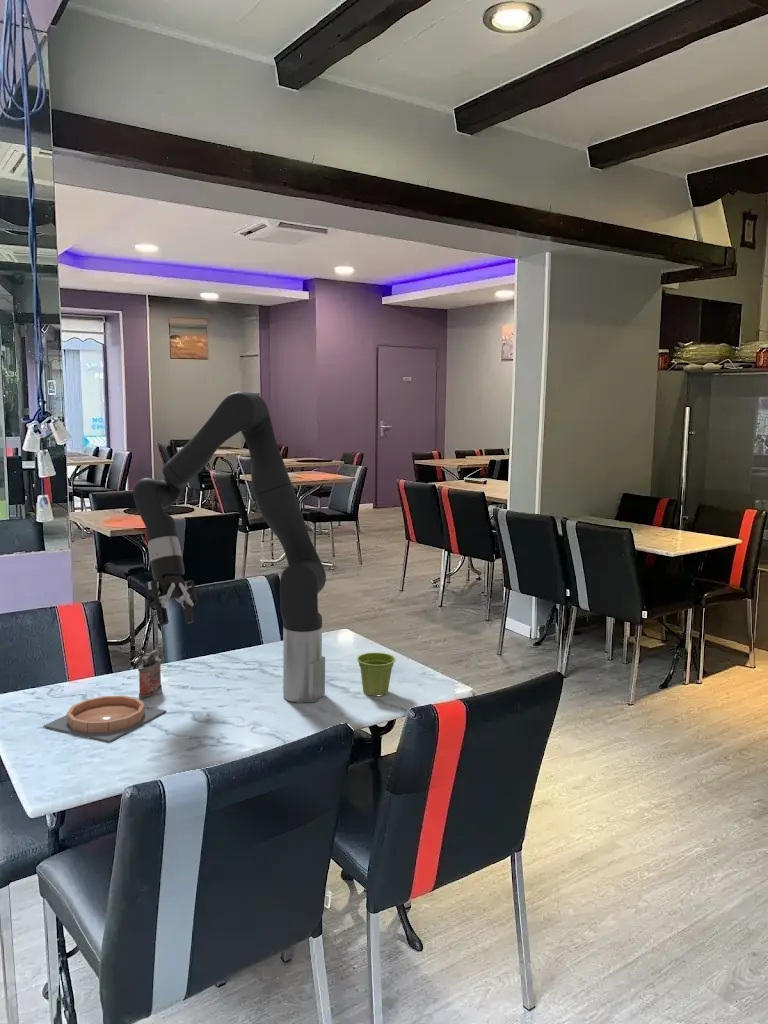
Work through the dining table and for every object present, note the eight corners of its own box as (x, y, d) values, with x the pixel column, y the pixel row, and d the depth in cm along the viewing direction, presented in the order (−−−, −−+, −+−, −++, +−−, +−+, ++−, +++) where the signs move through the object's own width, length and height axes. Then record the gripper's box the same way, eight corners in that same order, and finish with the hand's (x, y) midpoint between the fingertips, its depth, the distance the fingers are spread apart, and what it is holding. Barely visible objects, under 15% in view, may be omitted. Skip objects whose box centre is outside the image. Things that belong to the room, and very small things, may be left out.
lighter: (148, 699, 181) (147, 658, 180) (135, 698, 182) (134, 657, 180) (164, 688, 189) (164, 648, 187) (152, 686, 189) (151, 647, 188)
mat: (166, 712, 174) (166, 710, 174) (109, 742, 157) (109, 740, 157) (104, 699, 180) (103, 697, 180) (43, 727, 164) (43, 725, 164)
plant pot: (402, 694, 187) (403, 660, 186) (370, 702, 182) (370, 666, 181) (380, 683, 195) (381, 650, 194) (349, 690, 190) (349, 656, 189)
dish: (158, 711, 173) (158, 702, 173) (109, 737, 159) (108, 727, 158) (104, 700, 179) (104, 691, 179) (52, 724, 165) (51, 715, 164)
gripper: (155, 553, 177) (167, 621, 174) (197, 554, 190) (209, 618, 187) (132, 561, 181) (143, 629, 177) (175, 562, 193) (186, 625, 190)
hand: (177, 623), depth 182 cm, fingers open, 8 cm apart
